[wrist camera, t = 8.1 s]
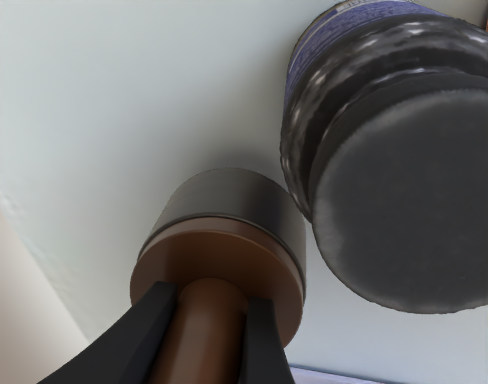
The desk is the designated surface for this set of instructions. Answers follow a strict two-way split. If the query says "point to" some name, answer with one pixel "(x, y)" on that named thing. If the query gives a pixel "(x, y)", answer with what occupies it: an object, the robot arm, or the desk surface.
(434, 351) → the desk surface
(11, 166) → the desk surface
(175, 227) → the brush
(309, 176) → the pill bottle
